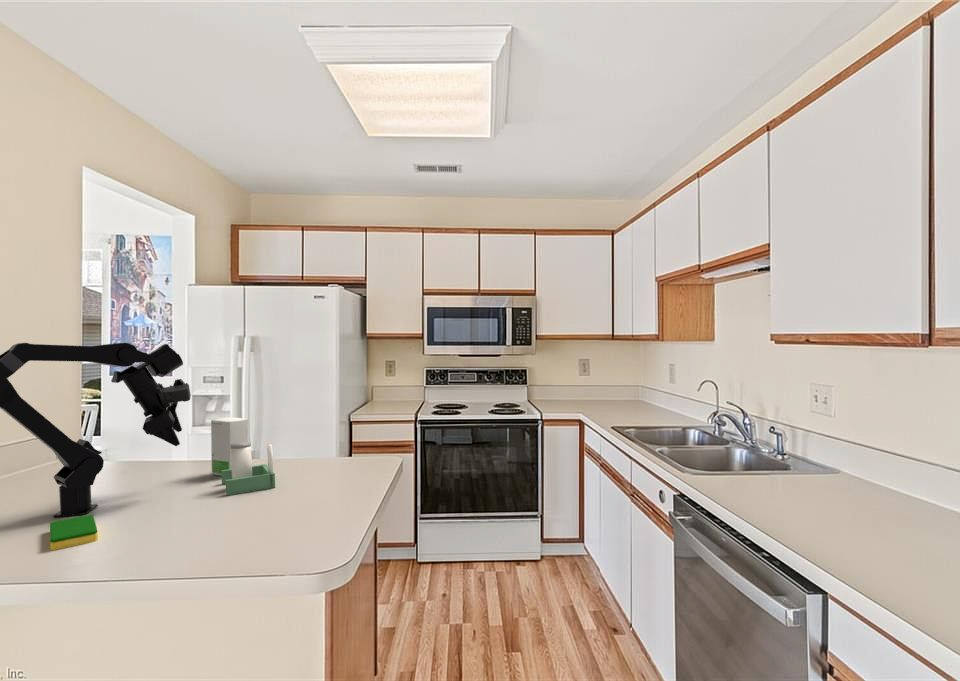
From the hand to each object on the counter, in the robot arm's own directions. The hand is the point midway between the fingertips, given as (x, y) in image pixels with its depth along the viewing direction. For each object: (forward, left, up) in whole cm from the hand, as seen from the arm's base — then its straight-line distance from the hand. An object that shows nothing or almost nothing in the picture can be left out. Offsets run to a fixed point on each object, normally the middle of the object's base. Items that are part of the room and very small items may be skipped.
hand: (179, 437), depth 141 cm
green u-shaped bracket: (-4, -17, -13) cm, 21 cm away
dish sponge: (-32, +11, -14) cm, 36 cm away
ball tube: (-4, -15, -13) cm, 21 cm away
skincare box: (+13, -10, -13) cm, 21 cm away
